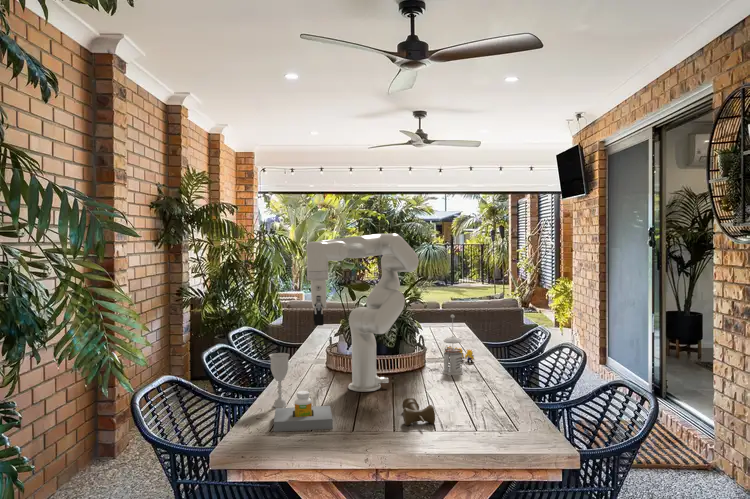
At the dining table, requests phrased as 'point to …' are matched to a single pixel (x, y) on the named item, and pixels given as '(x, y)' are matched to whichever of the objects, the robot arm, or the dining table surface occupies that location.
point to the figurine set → (466, 355)
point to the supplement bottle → (303, 404)
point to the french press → (452, 356)
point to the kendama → (417, 412)
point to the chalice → (279, 374)
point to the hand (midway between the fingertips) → (318, 323)
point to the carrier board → (302, 419)
